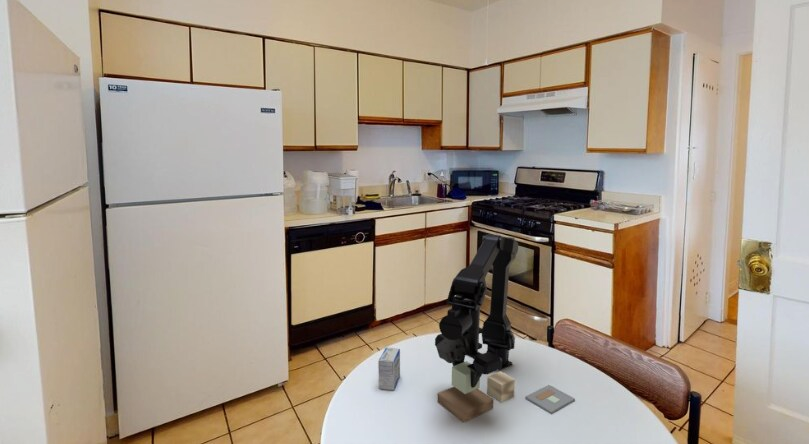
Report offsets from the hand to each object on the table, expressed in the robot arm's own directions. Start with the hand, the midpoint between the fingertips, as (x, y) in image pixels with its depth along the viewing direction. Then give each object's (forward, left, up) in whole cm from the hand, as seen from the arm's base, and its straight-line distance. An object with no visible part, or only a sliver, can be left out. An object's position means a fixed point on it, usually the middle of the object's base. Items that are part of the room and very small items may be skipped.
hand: (465, 382), depth 107 cm
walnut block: (0, 0, -7) cm, 7 cm away
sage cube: (0, 0, -1) cm, 1 cm away
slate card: (-20, +11, -6) cm, 24 cm away
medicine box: (+10, -20, -7) cm, 23 cm away
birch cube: (-11, +2, -6) cm, 13 cm away
